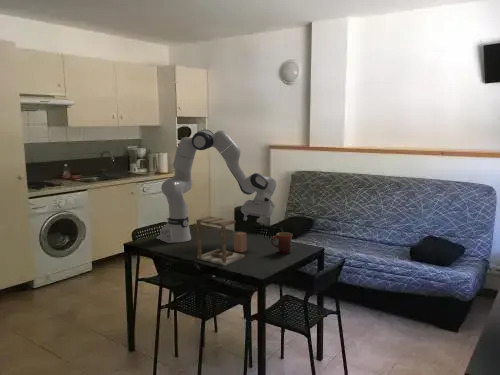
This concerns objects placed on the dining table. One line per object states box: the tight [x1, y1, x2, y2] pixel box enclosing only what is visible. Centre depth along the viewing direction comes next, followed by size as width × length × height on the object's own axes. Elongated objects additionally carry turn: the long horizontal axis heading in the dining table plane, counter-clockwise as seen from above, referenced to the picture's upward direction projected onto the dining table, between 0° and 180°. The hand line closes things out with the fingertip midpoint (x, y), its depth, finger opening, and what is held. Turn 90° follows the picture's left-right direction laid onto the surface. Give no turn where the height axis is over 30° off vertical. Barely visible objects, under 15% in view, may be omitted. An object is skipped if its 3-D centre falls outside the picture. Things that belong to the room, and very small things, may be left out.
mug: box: [270, 231, 293, 255], centre depth 233 cm, size 12×9×10 cm
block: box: [233, 231, 248, 253], centre depth 238 cm, size 5×5×10 cm
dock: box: [195, 215, 246, 266], centre depth 225 cm, size 19×16×21 cm
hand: (251, 220), depth 245 cm, fingers open, 8 cm apart
